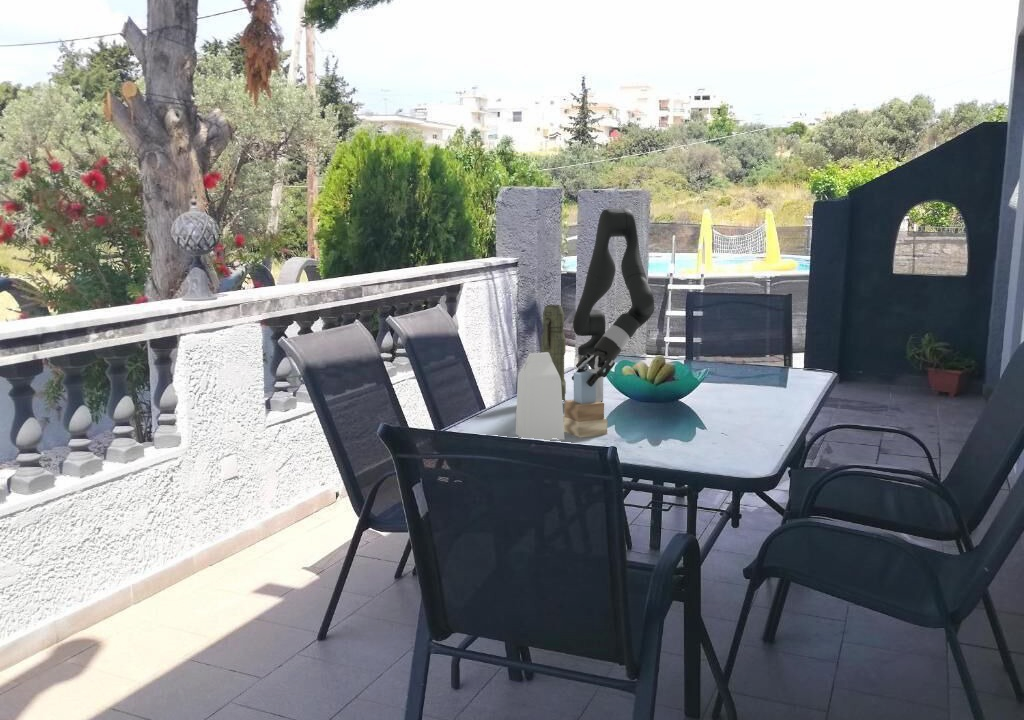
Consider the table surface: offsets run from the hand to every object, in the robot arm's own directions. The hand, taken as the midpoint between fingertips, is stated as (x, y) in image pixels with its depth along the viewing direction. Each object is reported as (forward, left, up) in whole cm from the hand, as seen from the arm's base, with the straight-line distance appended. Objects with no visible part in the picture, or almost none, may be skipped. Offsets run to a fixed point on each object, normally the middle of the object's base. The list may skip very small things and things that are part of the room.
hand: (581, 382), depth 279 cm
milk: (-2, -14, -16) cm, 21 cm away
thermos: (-48, +18, -16) cm, 54 cm away
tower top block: (0, +1, -11) cm, 11 cm away
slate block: (0, +1, -6) cm, 6 cm away
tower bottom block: (0, +1, -16) cm, 16 cm away
